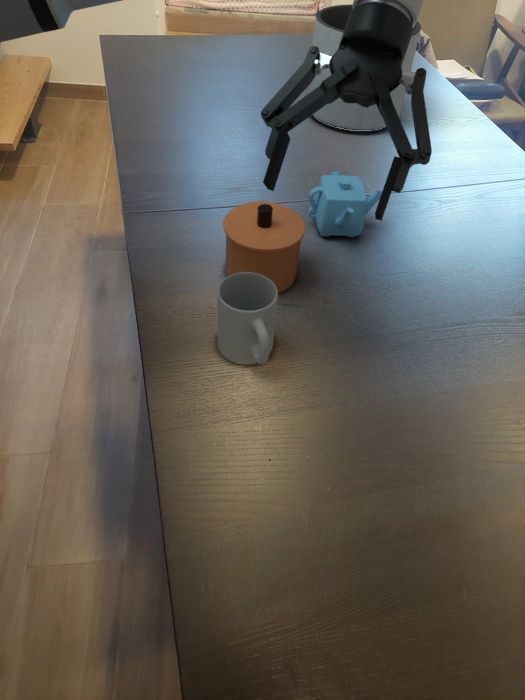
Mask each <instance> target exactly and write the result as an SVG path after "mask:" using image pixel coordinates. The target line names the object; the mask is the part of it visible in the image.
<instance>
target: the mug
mask: <svg viewBox="0 0 525 700" xmlns="http://www.w3.org/2000/svg"><path fill="white" fill-rule="evenodd" d="M216 297H217V304H216V305H217V347H218V350H219V352H220V354H221V355H222V356H223V357H224V358H225V359H226V360H228V361H230V362H231V363H234V364H238V365H243V366H247V365H248V366H249V365H255V364H258V365H265V364H266V363H267V362H268V360H269V357H270V354H271V353H272V351H273V347H274V337H275V327H276V317H277V307H278V298H279V293H278V291H277V288H276V286H275V284H274V283H273V282H272V281H271V280H270V279H268V278H267V277H265V276H263V275H261V274H257V273H252V272H241V273H236V274H233V275H230V276H228V277H227V276H226V277H225V278H224V279H222V281H221V282H220V283H219V286H218V287H217V295H216Z"/></svg>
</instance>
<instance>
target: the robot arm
mask: <svg viewBox="0 0 525 700" xmlns="http://www.w3.org/2000/svg"><path fill="white" fill-rule="evenodd" d="M121 1H122V2H123V0H0V43H5V42H8V41H12V40H16V39H21V38H25V37H30V36H34V35H38V34H42V33H49V32H54V31H58V30H62V29H64V28H65V27H66V25H67V23H68V21H69V18H70V16H71V14H72V13H73V12H74V11H80V10H84V9H88V8H93V7H98V6H103V5H109V4H112V3H117V2H121ZM423 3H424V0H353V2H352V4H351V5H352V11H351V12H350V14H349V17H348V20H347V23H346V26H345V29H344V33H343V36H342V39H341V42H340V45H339V48H338V50H337V52H336V53H335V54H334V55H333V56H330V55H327V54H324V53H321V52H319V48H318V47H317V46H312V45H311V46H310V47H309V48H308V51H307V54H306V56H305V58H304V60H303V62H302V64H301V65H300V66H299V67H298V68H297V70H296V71H295V72H294V73H293V74H292V75H291V76H290V77H289V79H288V80H287V81H286V82H285V83H284V84H283V86H282V87H281V88H280V89H279V90H278V91H277V92H276V94H275V95H273V97H272V98H271V99H270V100H269V101H268V103H267V104H265V106H264V107H263V108H262V109H261V111H260V117H261V118H262V121H263V123H264V124H265V125H266V127H268V128H270V129H271V131H270V134H269V137H268V141H267V144H266V147H265V150H264V153H265V156H266V158H267V159H268V160H269V162H268V165H267V169H266V171H265V175H264V178H263V180H262V183H263V185H264V186H265V188H266V189H267V190H268V191H272V192H274V191H275V189H276V185H277V182H278V179H279V176H280V173H281V170H282V166H283V164H284V159H285V157H286V153H287V151H288V149H289V145H290V142H291V137H290V134H289V132H290V131H292V130H293V129H294V128H296V127H297V126H299V125H300V124H301V123H303V122H305V121H306V120H308V118H310V117H312V116H311V115H313V114H314V113H315V112H317V111H318V110H320V109H321V108H322V107H324V106H325V105H327V104H331V103H333V102H334V101H336V100H337V99H338V98H341V99H342V100H343V102H345V103H349V104H350V103H357V104H359V105H361V106H363V107H367V108H369V106H372V105H375V104H376V105H377V107H378V110H379V112H380V114H381V116H382V117H383V120H384V122H385V124H386V127H387V128H386V129H387V131H388V133H389V136H390V139H391V141H392V143H393V146H394V148H395V150H396V153H397V155H398V156H396V155H394V156H393V159H392V162H391V165H390V168H389V171H388V173H387V177H386V179H385V183H384V185H383V188H382V190H381V191H382V194H381V197H380V199H379V200H378V202H377V203H378V204H377V206H376V209H375V211H374V218H375V220H378V221H382V220H383V218H384V215H385V212H386V209H387V206H388V203H389V200H390V198H391V195H392V192H394V193H398V194H401V192H402V191H403V190H404V187H405V184H406V182H407V178H408V176H409V172H410V170H411V168H412V167H413V166H414V165H423V166H425V165H428V164H429V163H430V161H431V156H432V153H433V150H432V143H431V142H432V141H431V136H430V128H429V122H428V121H429V120H428V115H427V108H426V107H427V106H426V100H425V92H424V90H425V86H426V80H427V70H426V68H424V67H419V68H417V69H416V70H415V71H411V72H407V71H402V64H403V61H404V58H405V55H406V52H407V49H408V46H409V43H410V40H411V37H412V34H413V28H414V26H415V25H416V22H417V21H418V19H419V16H420V13H421V11H422V10H421V9H422V6H423ZM327 68H328V69H330V72H331V75H330V76H329V77H328V78H326V79H325V80H324V81H323V82H322V83H321V85H320V86H319V87H317V88H316V89H315V90H313V91H312V92H311V93H309V94H308V95H306V94H305V96H304V97H303V98H301V99H299V100H298V101H297V99H298V98H299V97H300V96H301V95H302V94H303V93H304V92H305V91H306V88H307V87H308V86H309V85H310V83H311V82H312V81H313V80H314V78H315V76H316V74H317V75H320V74H321V73H322V72H323V70H324V69H327ZM400 84H402V85H404V86H405V92H406V93H405V94H407V95H409V96H410V106H411V115H412V121H413V128H414V129H413V130H414V135H415V136H414V137H415V144H416V148H413V147H412V144H411V141H410V140H409V137H408V135H407V133H406V131H405V128H404V125H403V124H402V123H403V122H402V121H401V119H400V116H398V114H397V111H396V109H395V107H394V104H393V102H392V98H391V95H390V93H391V92H392V91H393V90H394V89H396V88H397V87H398V86H399V85H400ZM296 101H297V102H296Z"/></svg>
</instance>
